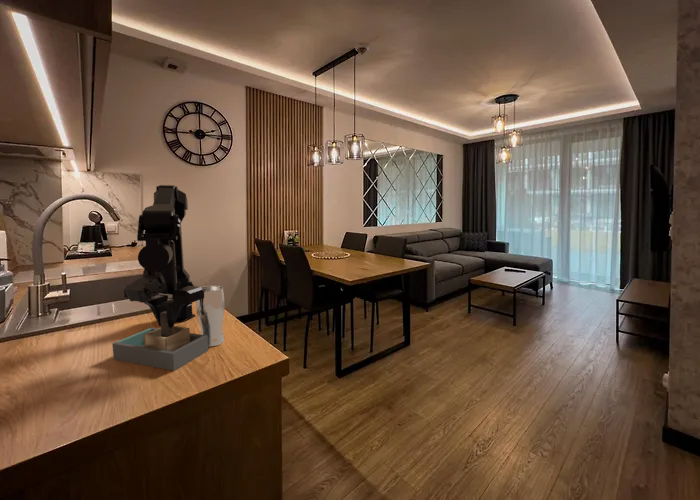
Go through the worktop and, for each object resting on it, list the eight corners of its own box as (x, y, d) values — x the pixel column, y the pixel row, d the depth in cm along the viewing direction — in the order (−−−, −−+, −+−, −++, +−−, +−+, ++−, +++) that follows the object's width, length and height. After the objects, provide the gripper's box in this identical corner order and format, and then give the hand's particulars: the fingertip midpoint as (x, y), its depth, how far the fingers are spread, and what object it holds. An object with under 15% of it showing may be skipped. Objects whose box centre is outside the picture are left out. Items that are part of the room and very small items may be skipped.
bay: (113, 359, 80) (112, 343, 79) (152, 341, 90) (151, 327, 90) (174, 370, 75) (173, 354, 74) (208, 350, 85) (207, 335, 84)
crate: (144, 354, 79) (141, 315, 78) (168, 343, 86) (165, 307, 85) (168, 359, 77) (165, 319, 76) (190, 347, 84) (188, 309, 83)
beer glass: (216, 348, 86) (213, 292, 84) (192, 346, 87) (189, 290, 85) (231, 338, 93) (229, 285, 91) (208, 336, 94) (206, 284, 92)
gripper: (98, 266, 74) (105, 334, 76) (166, 272, 68) (171, 344, 70) (142, 259, 84) (147, 318, 86) (204, 263, 79) (207, 326, 81)
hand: (166, 326), depth 81 cm, fingers closed on crate, 2 cm apart
